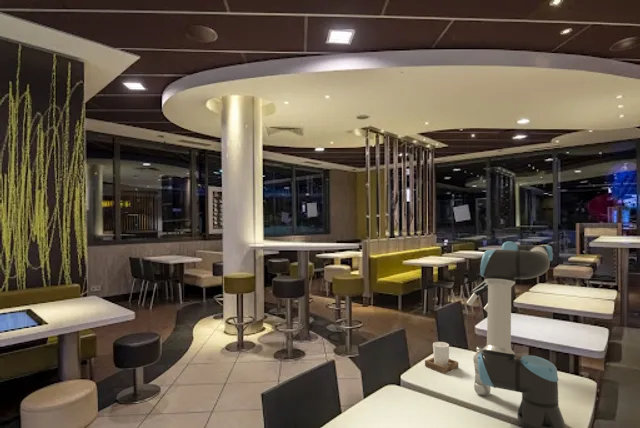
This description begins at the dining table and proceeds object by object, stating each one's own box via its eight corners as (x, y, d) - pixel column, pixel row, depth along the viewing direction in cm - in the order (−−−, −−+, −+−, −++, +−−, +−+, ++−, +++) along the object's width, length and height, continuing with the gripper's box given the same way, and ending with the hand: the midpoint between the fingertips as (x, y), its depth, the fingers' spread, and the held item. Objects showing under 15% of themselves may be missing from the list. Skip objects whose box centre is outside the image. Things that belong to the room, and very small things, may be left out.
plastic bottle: (481, 398, 160) (480, 351, 160) (470, 391, 167) (469, 345, 167) (494, 396, 162) (492, 349, 162) (483, 389, 168) (482, 344, 168)
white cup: (430, 362, 195) (429, 343, 195) (441, 360, 199) (441, 340, 199) (441, 368, 188) (440, 348, 188) (453, 365, 192) (452, 345, 192)
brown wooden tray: (443, 373, 185) (443, 367, 185) (425, 366, 195) (424, 360, 195) (458, 367, 192) (458, 362, 192) (439, 361, 201) (439, 355, 201)
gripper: (523, 284, 186) (498, 318, 183) (489, 276, 211) (466, 306, 207) (514, 274, 185) (488, 308, 181) (480, 267, 209) (457, 297, 206)
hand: (476, 307), depth 194 cm, fingers open, 13 cm apart
